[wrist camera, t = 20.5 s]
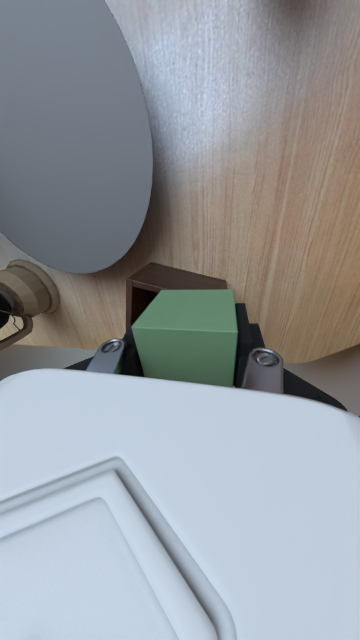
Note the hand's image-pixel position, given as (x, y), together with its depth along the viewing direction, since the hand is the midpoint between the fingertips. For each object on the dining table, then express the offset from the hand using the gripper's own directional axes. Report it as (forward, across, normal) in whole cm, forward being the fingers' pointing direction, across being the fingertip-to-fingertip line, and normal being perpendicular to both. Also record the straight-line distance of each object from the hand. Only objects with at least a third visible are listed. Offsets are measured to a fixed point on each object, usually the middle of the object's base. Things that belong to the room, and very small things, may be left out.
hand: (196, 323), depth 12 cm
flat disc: (+19, +20, -14) cm, 31 cm away
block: (0, 0, 0) cm, 0 cm away
